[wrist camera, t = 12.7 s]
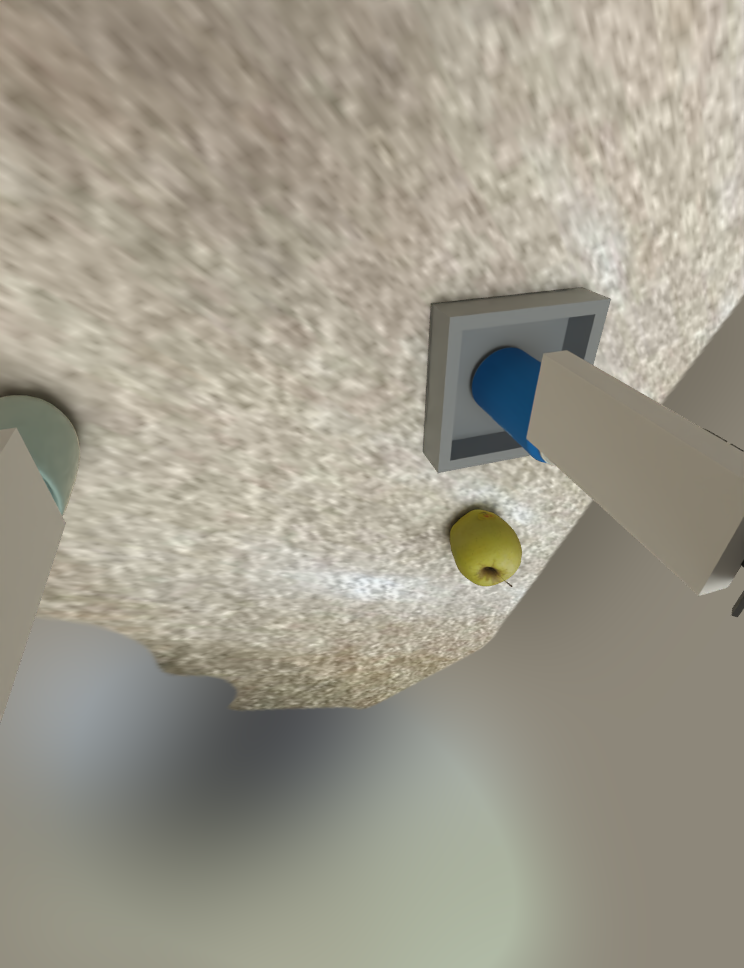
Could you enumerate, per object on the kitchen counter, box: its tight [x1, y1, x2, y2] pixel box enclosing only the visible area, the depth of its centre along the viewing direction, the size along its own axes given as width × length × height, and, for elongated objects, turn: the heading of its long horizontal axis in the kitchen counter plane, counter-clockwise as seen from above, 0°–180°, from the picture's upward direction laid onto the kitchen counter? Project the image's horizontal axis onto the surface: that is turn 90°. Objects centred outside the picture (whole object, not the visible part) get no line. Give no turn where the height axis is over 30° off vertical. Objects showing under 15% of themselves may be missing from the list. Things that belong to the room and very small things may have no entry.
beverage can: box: [472, 347, 556, 466], centre depth 43 cm, size 6×6×12 cm
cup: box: [0, 395, 80, 516], centre depth 34 cm, size 8×8×10 cm
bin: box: [423, 288, 611, 473], centre depth 46 cm, size 15×15×4 cm
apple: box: [450, 509, 522, 587], centre depth 56 cm, size 8×8×10 cm
